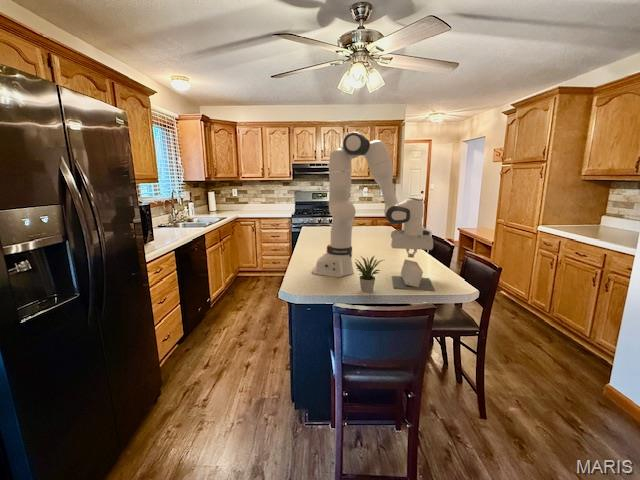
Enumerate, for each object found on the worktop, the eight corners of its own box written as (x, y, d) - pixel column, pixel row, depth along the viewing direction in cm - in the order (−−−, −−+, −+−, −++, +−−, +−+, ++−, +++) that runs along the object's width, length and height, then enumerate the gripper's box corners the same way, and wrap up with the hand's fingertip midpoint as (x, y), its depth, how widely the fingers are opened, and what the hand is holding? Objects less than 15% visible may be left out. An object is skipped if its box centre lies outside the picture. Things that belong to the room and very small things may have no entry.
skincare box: (412, 276, 153) (418, 288, 138) (399, 273, 153) (404, 285, 138) (417, 261, 151) (424, 271, 136) (404, 258, 151) (409, 268, 136)
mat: (393, 288, 138) (393, 287, 138) (392, 277, 154) (392, 275, 154) (434, 291, 135) (434, 289, 135) (428, 279, 150) (429, 278, 150)
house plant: (381, 284, 143) (382, 251, 140) (388, 295, 130) (390, 259, 126) (351, 284, 143) (352, 251, 139) (355, 296, 129) (356, 259, 126)
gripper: (391, 231, 149) (390, 257, 152) (435, 232, 145) (432, 259, 148) (391, 228, 155) (389, 254, 158) (432, 230, 151) (430, 256, 154)
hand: (410, 257), depth 153 cm, fingers closed
